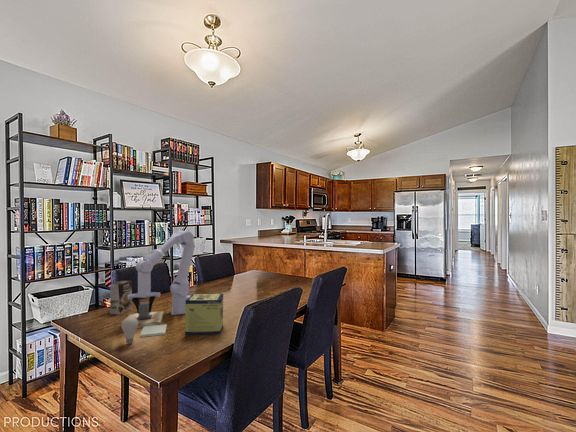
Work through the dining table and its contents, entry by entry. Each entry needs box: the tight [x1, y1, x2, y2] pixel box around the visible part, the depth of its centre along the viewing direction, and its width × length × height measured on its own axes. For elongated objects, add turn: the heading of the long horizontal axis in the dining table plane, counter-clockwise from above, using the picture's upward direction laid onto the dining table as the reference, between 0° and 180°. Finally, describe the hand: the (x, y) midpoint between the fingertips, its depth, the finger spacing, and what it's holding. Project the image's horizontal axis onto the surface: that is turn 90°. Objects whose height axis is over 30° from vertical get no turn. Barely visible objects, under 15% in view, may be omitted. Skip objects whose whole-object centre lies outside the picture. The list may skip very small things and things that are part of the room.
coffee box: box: [109, 280, 133, 316], centre depth 165 cm, size 9×6×16 cm
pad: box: [139, 323, 168, 338], centre depth 138 cm, size 10×10×1 cm
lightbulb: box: [120, 316, 138, 345], centre depth 125 cm, size 6×6×11 cm
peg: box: [139, 301, 150, 320], centre depth 150 cm, size 4×4×8 cm
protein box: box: [184, 293, 224, 336], centre depth 140 cm, size 10×16×16 cm
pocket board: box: [127, 310, 164, 329], centre depth 150 cm, size 16×16×2 cm
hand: (144, 312), depth 150 cm, fingers closed on peg, 4 cm apart
